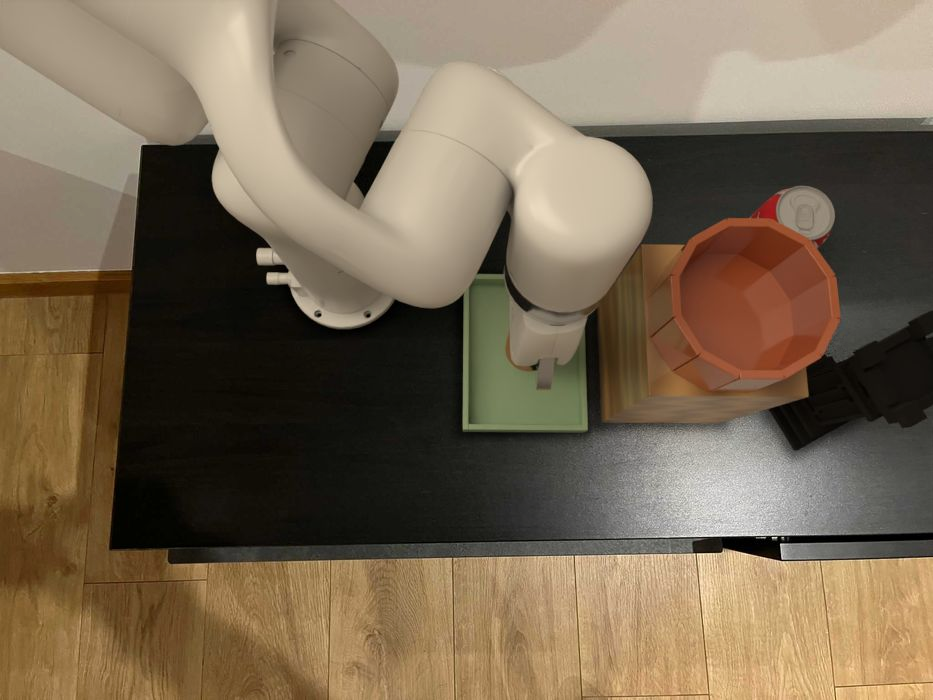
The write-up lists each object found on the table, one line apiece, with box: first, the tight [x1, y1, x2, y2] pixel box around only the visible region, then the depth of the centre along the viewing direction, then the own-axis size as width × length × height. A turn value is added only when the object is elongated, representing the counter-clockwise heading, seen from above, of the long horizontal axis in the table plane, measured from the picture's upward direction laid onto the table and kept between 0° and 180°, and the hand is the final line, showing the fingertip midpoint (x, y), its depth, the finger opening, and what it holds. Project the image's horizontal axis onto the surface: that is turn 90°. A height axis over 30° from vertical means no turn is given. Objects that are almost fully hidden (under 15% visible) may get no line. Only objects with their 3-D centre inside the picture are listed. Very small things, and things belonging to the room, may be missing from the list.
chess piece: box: [768, 309, 933, 452], centre depth 66 cm, size 8×8×20 cm
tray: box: [462, 273, 589, 434], centre depth 76 cm, size 13×17×2 cm
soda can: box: [748, 185, 836, 249], centre depth 74 cm, size 7×7×12 cm
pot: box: [648, 217, 842, 393], centre depth 54 cm, size 12×12×6 cm
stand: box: [596, 244, 809, 424], centre depth 67 cm, size 13×13×20 cm
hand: (534, 330), depth 66 cm, fingers closed on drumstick, 3 cm apart
